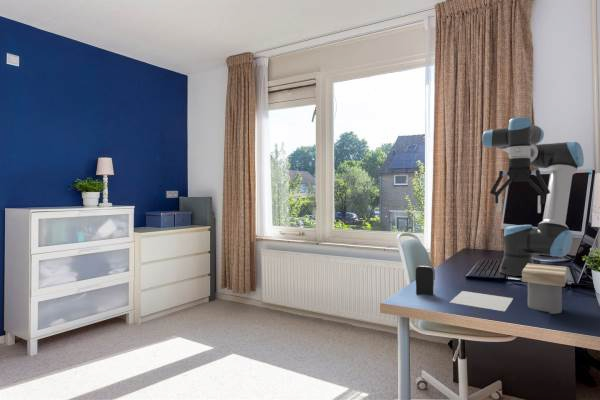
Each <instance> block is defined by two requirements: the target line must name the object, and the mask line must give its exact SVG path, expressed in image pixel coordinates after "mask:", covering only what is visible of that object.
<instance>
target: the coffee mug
mask: <svg viewBox="0 0 600 400" xmlns="http://www.w3.org/2000/svg"><path fill="white" fill-rule="evenodd" d="M527 307H528V308H530V309H532V310H536V311H539V312H547V313H548V314H551V315H555V314H560V313H562V311H563V310H562V309H563V286H555V285H546V284H538V283H529V282H527Z"/></svg>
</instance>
